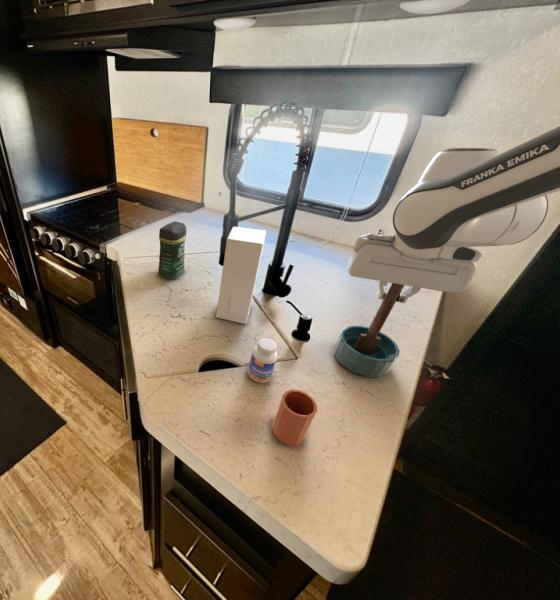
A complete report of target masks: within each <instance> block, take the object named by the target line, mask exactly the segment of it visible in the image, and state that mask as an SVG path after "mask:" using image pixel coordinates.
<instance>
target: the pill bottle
mask: <svg viewBox="0 0 560 600" xmlns="http://www.w3.org/2000/svg"><path fill="white" fill-rule="evenodd" d="M277 349H278V344H277V343H276V341H274V340H273V339H271V338H266V337H264V338H261V339H259V340H258V342H257V345H255V346H254V347H253V349H252V352H251V356H250V360H249V365H248V368H247V374H248V377H249V378H250V379H252V380H253V381H254V382H257V383H261V384H262V383H267V382H269V381H270V379H271V378H272V375H273V372H274V370H275V366H276V364H277V360H278V353H277Z"/></svg>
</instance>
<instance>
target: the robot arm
mask: <svg viewBox="0 0 560 600" xmlns="http://www.w3.org/2000/svg"><path fill="white" fill-rule="evenodd" d="M558 192H560V125H559V126H557V127H556V128H553V129H550V130H548V131H546V132H544V133H542V134H540V135H538V136H536V137H534V138H531V139H529V140H527V141H525V142H523V143H520V144H518V145H516V146H514V147H512V148H510V149H508V150H505V151H504V152H502V153H501V152H500V151H499V150H497V149H494V148H492V147H451V148H446V149H443V150H442V151H439V152H437V154H436V155H435V156H434V157H433V158H432V159H431V161H430V162H429V164H428V165H427V167H426V168H425V170H424V172H423V173H422V175H421V176H420V179H419V180H418V183H417V184H416V185H415V186H413V187H412V188H411V189H409V191H408V192H407V193H405V194H404V196H402V197H401V199H400V200H399V202H398V203H397V205H396V207H395V209H394V210H393V211H394V212H393V214H392V225H393V229H394V231H395V232H394V234H393V235H386V234H376V233H368V234H365V235H362V236H360V237H358V238H357V239H356V241H355V244H354V246H353V253H352V254H351V256H350V258H349V261H348V262H347V264H346V270H347V272H348V274H349V276H350V277H353V278H359V279H365V280H372V281H376V282H377V286H378V290H377V293H376V298H377V300H378V299H379V300H382V301H383V300H386V297H387V296H388V294H389V293H388V289H386V288H384V287H386V286H387V285H388V283H389V284H391V283H395V284H401V285H405V286H407V287H408V288H407V289H405V290H404V291H401V293H400V295H399V297H398V299H397V300H396V302H395V303H400V304H406V303H407V301H408V299H409V298H411V297H412V296H414V295H416V294H418V293H419V292H420V291H421V289H424V290H425V289H426V290H432V291H436V292H437V291H438V292H444V293H450V294H455V295H457V294H459V293H463V292H464V291H466V289H468V287H469V286H470V284H471V282H472V281H473V278H474V276H475V274H476V272H477V269H478V266H477V262H479V261H480V260H481V259H482V257H483V255H484V253H483V251H482V250H481V249H480V247H502V246H511V245H515V244H518V243H521V242H524V241H525V240H528V239H529V238H530V237H531V236H533V235H534V234H535V233H536V232H537V231H538V230H539V229H540V228H541V226H542V225H543V223H544V222H545V221H546V218H547V216H548V212H549V199H548V195H551V194H553V193H558Z"/></svg>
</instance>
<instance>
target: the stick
mask: <svg viewBox="0 0 560 600" xmlns="http://www.w3.org/2000/svg"><path fill="white" fill-rule="evenodd" d="M405 286H406V285H401V284H395V283H390V286H389V287H388V289H387V291H388V293H389V294H388V296H387V297H386V300H383V299H382V300H381V302H380V305H379V307H378V309H377V311H376V313H375V314H374V317H373V319H372V321H371V323H370V325H369V326H368V327H369V329H368V331H367V333H366V334H363V333H361V334H360V336H359V338H358V340H357V342H356V345H355V347H354V350H356V351H357V352H359V353H361V354H363V355H367V354H370V355H373V353H374V351H375V349H376V348H377V346H378V344H379V342H380V340H381V339H380V337H377V336H378V334H379V332H381V331H382V328H383V327H384V324H385V323H386V321H387V319H388V317H389V315H390V314H391V311H392V310H393V309H394V306H395V304H396V303H397V302H396V300H397V299H398V297H399V295H400V293H401V292H403V289H404V288H405Z"/></svg>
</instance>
